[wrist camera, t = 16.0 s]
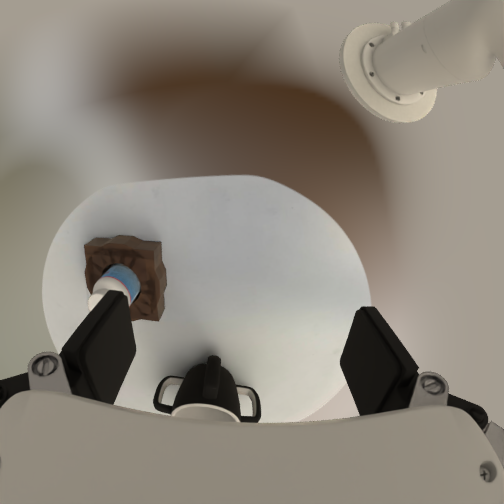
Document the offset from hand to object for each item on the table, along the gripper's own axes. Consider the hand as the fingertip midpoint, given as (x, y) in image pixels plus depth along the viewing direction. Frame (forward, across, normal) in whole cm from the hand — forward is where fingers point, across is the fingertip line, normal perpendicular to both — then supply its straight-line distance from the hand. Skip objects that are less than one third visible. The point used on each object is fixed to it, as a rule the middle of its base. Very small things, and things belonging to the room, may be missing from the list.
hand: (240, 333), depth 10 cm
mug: (+31, +4, +35) cm, 47 cm away
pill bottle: (+31, +18, +13) cm, 38 cm away
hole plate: (+30, +18, +13) cm, 38 cm away
